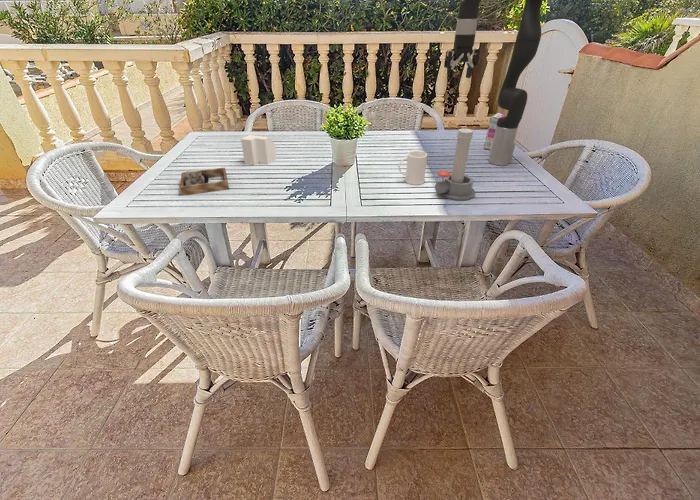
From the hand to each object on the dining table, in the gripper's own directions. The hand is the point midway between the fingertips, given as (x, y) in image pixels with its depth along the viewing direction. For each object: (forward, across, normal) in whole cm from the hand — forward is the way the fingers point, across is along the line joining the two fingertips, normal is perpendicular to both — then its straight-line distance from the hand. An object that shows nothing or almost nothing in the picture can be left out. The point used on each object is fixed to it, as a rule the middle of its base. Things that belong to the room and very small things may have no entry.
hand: (459, 78), depth 150 cm
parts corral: (+36, +106, -19) cm, 114 cm away
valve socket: (+38, +13, +25) cm, 47 cm away
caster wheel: (+37, +110, -20) cm, 118 cm away
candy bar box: (+39, -39, -17) cm, 57 cm away
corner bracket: (+37, +80, -38) cm, 96 cm away
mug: (+38, +23, +8) cm, 45 cm away
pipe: (+37, +12, +25) cm, 46 cm away
